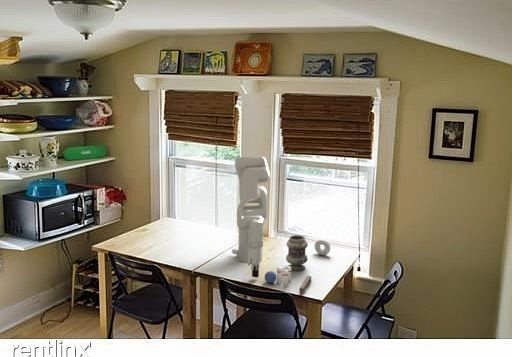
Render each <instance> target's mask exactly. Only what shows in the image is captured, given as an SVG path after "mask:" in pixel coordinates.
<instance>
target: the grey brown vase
mask: <svg viewBox="0 0 512 357" xmlns="http://www.w3.org/2000/svg"><path fill="white" fill-rule="evenodd" d="M308 244H309V243H308V241H307V240H306V238H305V236H304V235H300V234H294V235H290V236H289V239H288V240H287V241H286V243H285V245H286V247H287V248H288V254H287V255H286V256H285V260H286V262H287V263H289V264H288V266H290V267H291V272H303V271H305V270H306V266H305V265H304V264H306V263H307V261H308V260H309V259H308V256H307V254H306V249H307V247H308ZM304 269H305V270H304Z"/></svg>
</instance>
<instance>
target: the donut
mask: <svg viewBox="0 0 512 357" xmlns="http://www.w3.org/2000/svg"><path fill="white" fill-rule="evenodd" d="M321 245H322V246H323V247H324V249H322V248H321ZM314 249H315V252H316V253H317V254H318V255H321V256H327V255H328V254H329V253H330V252H331V245H330V243H329V241H328V240H326V239H325V238H319V239H317V240H316V241H315V243H314Z"/></svg>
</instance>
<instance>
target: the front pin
mask: <svg viewBox="0 0 512 357" xmlns="http://www.w3.org/2000/svg"><path fill="white" fill-rule="evenodd" d="M282 272H283V271H282V266H277V267H276V284H278V285H282V277H283V276H282Z"/></svg>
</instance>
